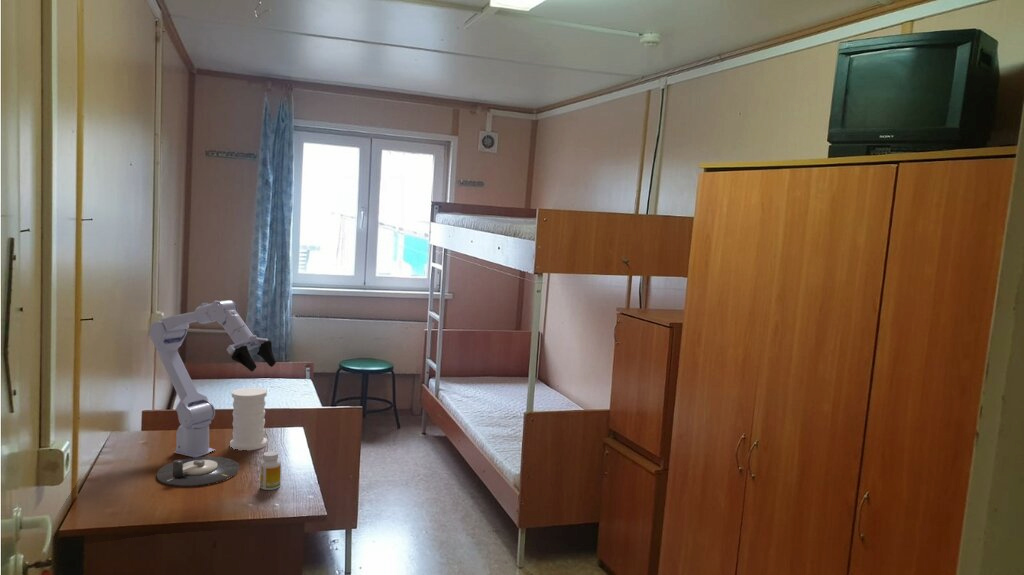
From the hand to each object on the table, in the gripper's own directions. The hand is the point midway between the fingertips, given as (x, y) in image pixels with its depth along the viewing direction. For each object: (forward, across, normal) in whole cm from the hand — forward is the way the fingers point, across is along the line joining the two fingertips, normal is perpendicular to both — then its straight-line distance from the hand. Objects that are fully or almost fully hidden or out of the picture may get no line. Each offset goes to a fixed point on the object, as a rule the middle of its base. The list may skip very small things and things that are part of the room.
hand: (264, 367), depth 208 cm
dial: (+11, -14, +31) cm, 36 cm away
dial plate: (+11, -12, +32) cm, 36 cm away
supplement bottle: (+30, -9, +15) cm, 35 cm away
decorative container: (+6, +14, +37) cm, 40 cm away
